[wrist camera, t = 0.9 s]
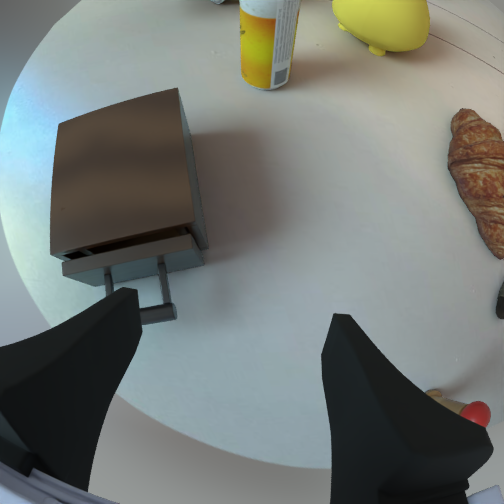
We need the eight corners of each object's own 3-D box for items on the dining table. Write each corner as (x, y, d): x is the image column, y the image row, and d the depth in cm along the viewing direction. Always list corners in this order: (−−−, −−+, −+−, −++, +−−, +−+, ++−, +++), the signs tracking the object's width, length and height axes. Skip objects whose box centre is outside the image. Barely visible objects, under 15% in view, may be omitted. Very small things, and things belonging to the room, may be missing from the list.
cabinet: (208, 248, 31) (195, 221, 23) (92, 273, 30) (50, 254, 22) (190, 134, 34) (177, 87, 26) (89, 160, 33) (58, 123, 25)
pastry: (528, 197, 33) (561, 176, 25) (495, 265, 30) (538, 250, 23) (457, 112, 36) (483, 80, 28) (409, 163, 33) (441, 126, 26)
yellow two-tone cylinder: (265, 56, 37) (271, -35, 23) (298, 79, 36) (316, -17, 22) (231, 75, 36) (226, -22, 22) (264, 100, 35) (271, -3, 20)
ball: (466, 434, 20) (485, 441, 17) (447, 425, 20) (466, 432, 17) (481, 405, 20) (501, 409, 18) (463, 394, 21) (484, 399, 18)
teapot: (382, 2, 43) (400, -50, 29) (444, 50, 40) (474, -1, 26) (308, 19, 40) (319, -50, 26) (380, 75, 37) (412, 3, 23)
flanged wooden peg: (431, 419, 26) (466, 434, 20) (413, 410, 27) (447, 425, 20) (444, 395, 27) (481, 405, 20) (426, 385, 27) (463, 394, 21)
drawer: (214, 315, 28) (204, 311, 22) (101, 333, 28) (68, 333, 22) (186, 151, 32) (175, 115, 26) (90, 176, 32) (64, 148, 25)
